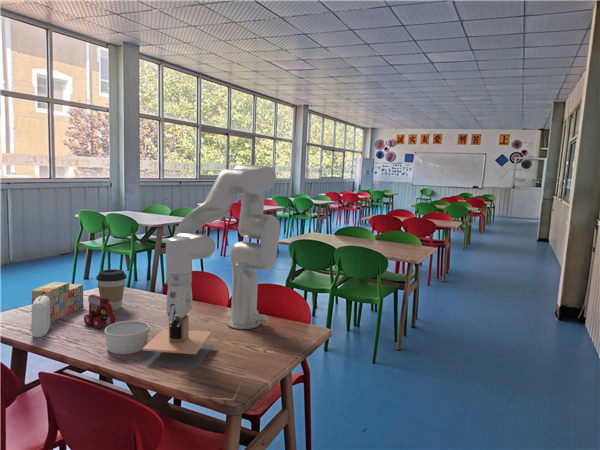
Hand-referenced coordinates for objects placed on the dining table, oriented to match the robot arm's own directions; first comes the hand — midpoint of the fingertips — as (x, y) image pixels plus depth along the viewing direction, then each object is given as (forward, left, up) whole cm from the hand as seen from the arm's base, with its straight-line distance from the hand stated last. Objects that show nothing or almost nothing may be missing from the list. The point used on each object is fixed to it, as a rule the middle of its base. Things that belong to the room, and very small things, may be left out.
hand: (178, 334), depth 132 cm
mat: (0, +1, -6) cm, 6 cm away
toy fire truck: (+36, -19, -7) cm, 42 cm away
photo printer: (+51, -9, -7) cm, 52 cm away
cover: (0, 0, -2) cm, 2 cm away
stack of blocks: (+57, -27, -7) cm, 63 cm away
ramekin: (+17, -1, -7) cm, 19 cm away
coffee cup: (+42, -38, -7) cm, 57 cm away
